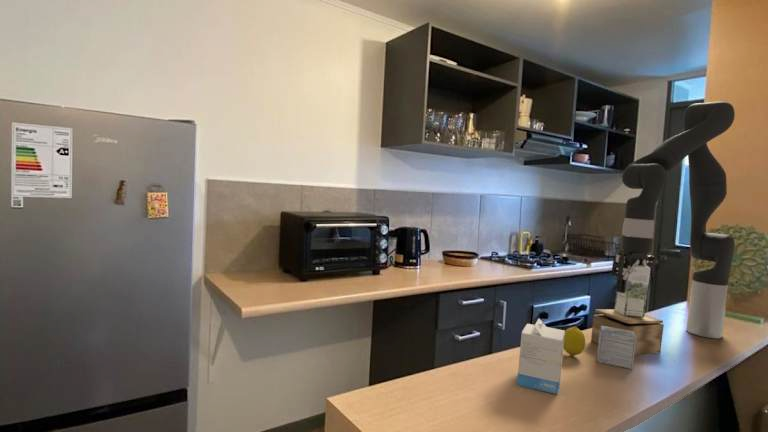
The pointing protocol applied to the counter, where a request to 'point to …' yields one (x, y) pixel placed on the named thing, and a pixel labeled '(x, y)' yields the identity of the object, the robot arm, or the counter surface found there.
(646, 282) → the syrup box
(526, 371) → the ink box
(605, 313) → the lid flap
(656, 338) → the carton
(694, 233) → the robot arm
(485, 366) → the counter surface
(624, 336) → the medicine box
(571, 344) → the lemon
